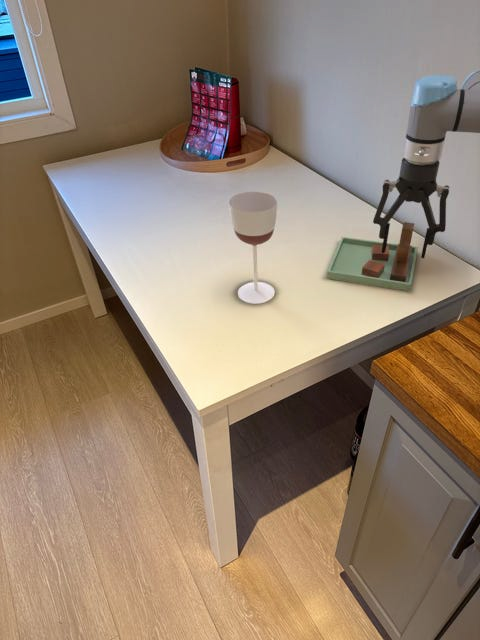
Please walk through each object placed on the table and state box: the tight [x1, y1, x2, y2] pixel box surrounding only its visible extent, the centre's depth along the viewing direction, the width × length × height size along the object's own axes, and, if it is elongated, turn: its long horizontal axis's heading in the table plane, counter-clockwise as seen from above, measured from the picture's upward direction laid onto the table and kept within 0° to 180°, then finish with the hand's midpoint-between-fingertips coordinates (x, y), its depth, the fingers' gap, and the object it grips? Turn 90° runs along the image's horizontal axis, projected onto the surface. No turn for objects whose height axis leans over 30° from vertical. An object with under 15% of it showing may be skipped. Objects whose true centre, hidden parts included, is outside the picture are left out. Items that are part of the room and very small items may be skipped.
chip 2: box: [362, 260, 385, 278], centre depth 116 cm, size 4×4×2 cm
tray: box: [326, 236, 419, 293], centre depth 119 cm, size 19×17×2 cm
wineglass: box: [228, 191, 278, 305], centre depth 106 cm, size 9×10×23 cm
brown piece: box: [390, 221, 415, 282], centre depth 114 cm, size 4×14×12 cm, turn 160°
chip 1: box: [371, 245, 389, 261], centre depth 122 cm, size 4×4×2 cm
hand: (403, 252), depth 115 cm, fingers open, 8 cm apart
